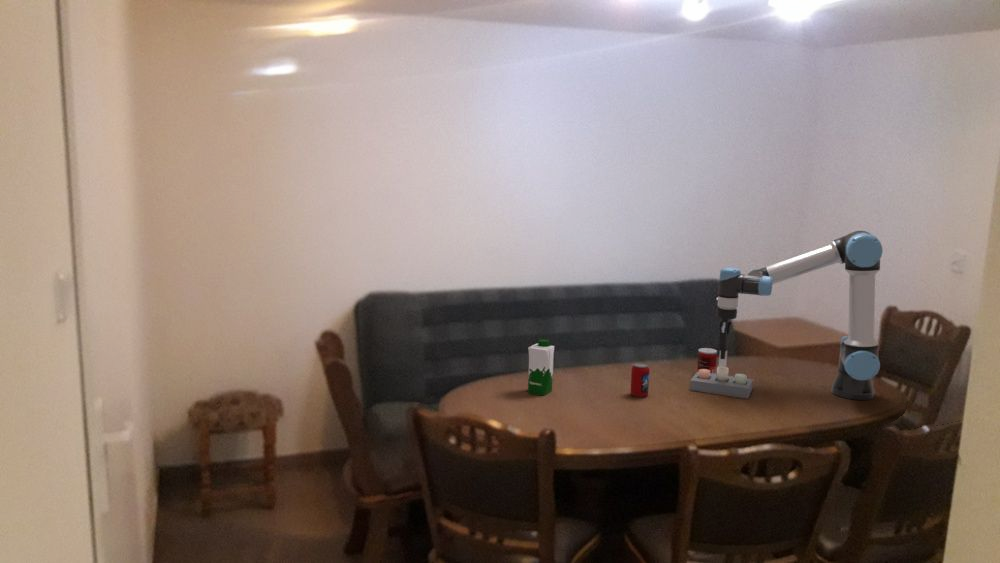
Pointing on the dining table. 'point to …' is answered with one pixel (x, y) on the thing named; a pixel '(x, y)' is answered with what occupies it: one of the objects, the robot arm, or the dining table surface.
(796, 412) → the dining table surface
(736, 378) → the button sage
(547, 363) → the milk carton
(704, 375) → the button terracotta
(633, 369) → the beverage can
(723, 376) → the button cream
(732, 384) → the console
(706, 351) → the canned food
